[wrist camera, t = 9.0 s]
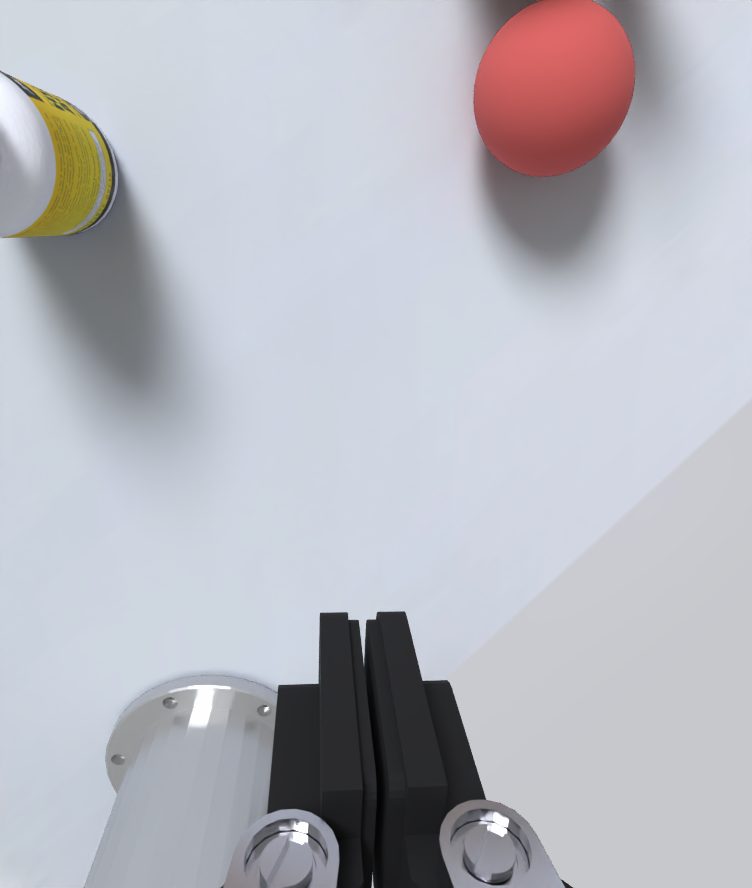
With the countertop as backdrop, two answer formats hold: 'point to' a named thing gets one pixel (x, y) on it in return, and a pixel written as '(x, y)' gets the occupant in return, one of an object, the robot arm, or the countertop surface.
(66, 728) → the countertop surface
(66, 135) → the supplement bottle
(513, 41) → the ball
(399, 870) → the robot arm
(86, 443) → the countertop surface
